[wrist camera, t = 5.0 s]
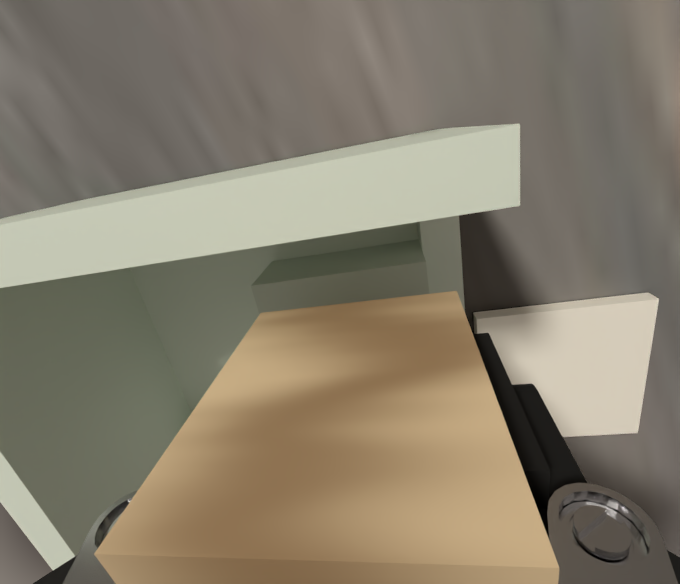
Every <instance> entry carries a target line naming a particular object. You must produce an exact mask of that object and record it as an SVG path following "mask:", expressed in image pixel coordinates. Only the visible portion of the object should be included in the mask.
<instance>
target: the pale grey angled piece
mask: <svg viewBox="0 0 680 584" xmlns="http://www.w3.org/2000/svg"><path fill="white" fill-rule="evenodd" d="M515 206H520V124H507V125H490V126H474V127H458V128H441V129H436V130H431V131H426V132H421V133H416V134H411V135H406V136H401V137H396V138H391V139H386V140H381V141H376V142H370V143H365V144H360V145H355V146H350V147H345V148H340V149H335V150H330V151H325V152H320V153H315V154H310V155H305V156H300V157H295V158H290V159H285V160H280V161H275V162H270V163H265V164H260V165H255V166H250V167H245V168H240V169H235V170H230V171H225V172H220V173H215V174H210V175H205V176H200V177H195V178H190V179H185V180H180V181H175V182H170V183H164V184H159V185H154V186H149V187H144V188H139V189H134V190H129V191H124V192H119V193H114V194H109V195H104V196H99V197H94V198H89V199H85V200H80V201H76V202H72V203H67V204H63V205H58V206H54V207H50V208H45V209H41V210H36V211H32V212H28V213H23V214H19V215H14V216H10V217H5V218H1V219H0V502H1V503H2V505H3V506H4V507H5V509H6V510H7V511H8V513H9V514H10V515H11V517H12V518H13V519H14V520H15V522H16V523H17V524H18V526H19V527H20V528H21V530H22V531H23V532H24V533H25V535H26V536H27V537H28V538H29V540H30V541H31V543H32V544H33V545H34V546H35V548H36V549H37V550H38V552H39V553H40V554H41V556H42V557H43V558H44V559H45V560H46V562H47V563H48V565H49V566H50V567H51V569H52V570H55V569H56V568H58V567H59V566H61V565H63V564H64V563H66V562H67V561H69V560H70V559H72V558H73V557H75V556H76V555H77V554H78V552H79V550H80V549H81V547H82V545H83V543H84V541H85V539H86V537H87V535H88V533H89V531H90V529H91V528H92V526H93V525H94V523H95V521H96V520H97V519H98V518H99V517H100V515H101V514H102V513H103V512H104V511H105V510H106V509H107V508H108V507H110V506H111V505H112V504H113V503H115V502H116V501H117V500H119V499H120V498H122V497H124V496H125V495H127V494H129V493H132V492H134V491H137V490H139V488H140V487H141V485H142V484H143V482H144V481H145V480H146V478H147V477H148V475H149V474H150V472H151V471H152V469H153V468H154V467H155V465H156V464H157V462H158V461H159V459H160V458H161V456H162V455H163V453H164V452H165V451H166V449H167V448H168V446H169V445H170V443H171V442H172V440H173V439H174V438H175V436H176V435H177V433H178V432H179V430H180V429H181V427H182V426H183V425H184V423H185V422H186V420H187V419H188V417H189V416H190V414H191V413H192V411H193V410H194V409H195V407H196V406H197V404H198V403H199V401H200V400H201V398H202V397H203V396H204V394H205V393H206V391H207V390H208V388H209V387H210V385H211V384H212V383H213V381H214V380H215V378H216V377H217V375H218V374H219V372H220V371H221V370H222V368H223V367H224V365H225V364H226V362H227V361H228V359H229V358H230V356H231V355H232V354H233V352H234V351H235V349H236V348H237V346H238V345H239V343H240V342H241V341H242V339H243V338H244V336H245V335H246V333H247V332H248V330H249V329H250V328H251V326H252V325H253V323H254V322H255V320H256V319H257V317H258V316H259V315H260V313H263V312H272V311H281V310H289V309H298V308H307V307H316V306H325V305H334V304H343V303H352V302H361V301H370V300H379V299H387V298H396V297H405V296H414V295H423V294H432V293H441V292H450V291H457V293H458V295H459V298H460V301H461V304H462V306H463V309H464V312H465V304H464V288H463V272H462V256H461V240H460V225H459V215H465V214H471V213H477V212H484V211H490V210H496V209H503V208H509V207H515Z"/></svg>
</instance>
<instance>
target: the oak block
mask: <svg viewBox="0 0 680 584" xmlns="http://www.w3.org/2000/svg"><path fill="white" fill-rule="evenodd" d="M94 555H95V556H96V557H97V559H98V560H99V562H100V563H101V564H102V566H103V567H104V568H105V570H106V571H107V572H108V574H109V575H110V577H111V578H112V579H113V581H114V582H115V583H116V584H558V580H559V565H558V563H557V560H556V557H555V554H554V552H553V549H552V546H551V544H550V541H549V538H548V536H547V533H546V530H545V527H544V525H543V522H542V519H541V517H540V514H539V511H538V509H537V506H536V503H535V500H534V498H533V495H532V492H531V490H530V487H529V484H528V482H527V479H526V476H525V474H524V471H523V468H522V465H521V463H520V460H519V457H518V455H517V452H516V449H515V447H514V444H513V441H512V438H511V436H510V433H509V430H508V428H507V425H506V422H505V420H504V417H503V414H502V411H501V409H500V406H499V403H498V401H497V398H496V395H495V393H494V390H493V387H492V384H491V382H490V379H489V376H488V374H487V371H486V368H485V366H484V363H483V360H482V358H481V355H480V352H479V349H478V347H477V344H476V341H475V339H474V336H473V333H472V331H471V328H470V325H469V322H468V320H467V317H466V314H465V312H464V309H463V306H462V304H461V301H460V298H459V295H458V293H457V291H450V292H441V293H432V294H423V295H414V296H405V297H396V298H387V299H379V300H370V301H361V302H352V303H343V304H334V305H325V306H316V307H307V308H298V309H289V310H281V311H272V312H263V313H260V315H259V316H258V317H257V319H256V320H255V322H254V323H253V325H252V326H251V328H250V329H249V330H248V332H247V333H246V335H245V336H244V338H243V339H242V341H241V342H240V343H239V345H238V346H237V348H236V349H235V351H234V352H233V354H232V355H231V356H230V358H229V359H228V361H227V362H226V364H225V365H224V367H223V368H222V370H221V371H220V372H219V374H218V375H217V377H216V378H215V380H214V381H213V383H212V384H211V385H210V387H209V388H208V390H207V391H206V393H205V394H204V396H203V397H202V398H201V400H200V401H199V403H198V404H197V406H196V407H195V409H194V410H193V411H192V413H191V414H190V416H189V417H188V419H187V420H186V422H185V423H184V425H183V426H182V427H181V429H180V430H179V432H178V433H177V435H176V436H175V438H174V439H173V440H172V442H171V443H170V445H169V446H168V448H167V449H166V451H165V452H164V453H163V455H162V456H161V458H160V459H159V461H158V462H157V464H156V465H155V467H154V468H153V469H152V471H151V472H150V474H149V475H148V477H147V478H146V480H145V481H144V482H143V484H142V485H141V487H140V488H139V490H138V491H137V493H136V494H135V495H134V497H133V498H132V500H131V501H130V503H129V504H128V506H127V507H126V508H125V510H124V511H123V513H122V514H121V516H120V517H119V519H118V520H117V522H116V523H115V524H114V526H113V527H112V529H111V530H110V532H109V533H108V535H107V536H106V537H105V539H104V540H103V542H102V543H101V545H100V546H99V548H98V549H97V550H96V552H95V553H94Z"/></svg>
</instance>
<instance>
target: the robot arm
mask: <svg viewBox="0 0 680 584" xmlns="http://www.w3.org/2000/svg"><path fill="white" fill-rule="evenodd" d="M473 336H474V339H475V341H476V344H477V347H478V349H479V352H480V355H481V358H482V360H483V363H484V366H485V368H486V371H487V374H488V376H489V379H490V382H491V384H492V387H493V390H494V393H495V395H496V398H497V401H498V403H499V406H500V409H501V411H502V414H503V417H504V420H505V422H506V425H507V428H508V430H509V433H510V436H511V438H512V441H513V444H514V447H515V449H516V452H517V455H518V457H519V460H520V463H521V465H522V468H523V471H524V474H525V476H526V479H527V482H528V484H529V487H530V490H531V492H532V495H533V498H534V500H535V503H536V506H537V509H538V511H539V514H540V517H541V519H542V522H543V525H544V527H545V530H546V533H547V536H548V538H549V541H550V544H551V546H552V549H553V552H554V554H555V557H556V560H557V563H558V565H559V580H558V584H680V558H679V557H678V556H676V555H674V554H673V553H671V552H669V551H668V550H667V549H666V546H665V543H664V540H663V538H662V536H661V534H660V532H659V530H658V528H657V526H656V524H655V523H654V521H653V520H652V519H651V518H650V517H649V516H648V515H647V514H646V512H645V511H644V510H643V509H642V508H641V507H639V506H638V505H637V504H635V503H634V502H633V501H631V500H630V499H629V498H627V497H626V496H624V495H622V494H620V493H618V492H616V491H614V490H612V489H610V488H606V487H603V486H599V485H596V484H590V483H587V482H586V480H585V478H584V476H583V474H582V473H581V471H580V469H579V467H578V465H577V463H576V461H575V460H574V458H573V456H572V454H571V452H570V450H569V448H568V446H567V445H566V443H565V441H564V439H563V437H562V435H561V433H560V431H559V430H558V428H557V426H556V424H555V422H554V420H553V418H552V416H551V415H550V413H549V411H548V409H547V407H546V405H545V403H544V401H543V400H542V398H541V396H540V394H539V392H538V390H537V389H536V387H535V386H534V385H533V384H516V385H512V384H511V381H510V379H509V377H508V375H507V373H506V370H505V368H504V366H503V364H502V361H501V359H500V357H499V355H498V352H497V350H496V348H495V346H494V344H493V341H492V339H491V337H490V335H489V333H479V334H473ZM137 491H138V490H137ZM137 491H134V492H132V493H129V494H127V495H125V496H124V497H122V498H120V499H119V500H117V501H116V502H115V503H113V504H112V505H111V506H110V507H108V508H107V509H106V510H105V511H104V512H103V513H102V514H101V515H100V517H99V518H98V519H97V520H96V521H95V523H94V525H93V526H92V528H91V529H90V531H89V533H88V535H87V537H86V539H85V541H84V543H83V545H82V547H81V549H80V550H79V552H78V554H77V555H76V556H75V557H73V558H72V559H70V560H69V561H67V562H66V563H64V564H63V565H61V566H59V567H58V568H56V569H55V570H53V571H52V572H50V573H49V574H47V575H46V576H44V577H42V578H41V579H39V580H38V581H37V582H35V583H33V584H116V583H115V582H114V581H113V579H112V578H111V577H110V575H109V574H108V572H107V571H106V570H105V568H104V567H103V566H102V564H101V563H100V562H99V560H98V559H97V557H96V556H95V555H94V553H95V552H96V550H97V549H98V548H99V546H100V545H101V543H102V542H103V540H104V539H105V537H106V536H107V535H108V533H109V532H110V530H111V529H112V527H113V526H114V524H115V523H116V522H117V520H118V519H119V517H120V516H121V514H122V513H123V511H124V510H125V508H126V507H127V506H128V504H129V503H130V501H131V500H132V498H133V497H134V495H135V494H136V493H137Z"/></svg>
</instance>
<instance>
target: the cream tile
mask: <svg viewBox="0 0 680 584" xmlns="http://www.w3.org/2000/svg"><path fill="white" fill-rule="evenodd" d="M658 302H659V299H658V298H657V297H655V296H653V295H652V294H650V293H639V294H631V295H622V296H613V297H604V298H596V299H587V300H578V301H569V302H561V303H552V304H543V305H534V306H526V307H517V308H508V309H499V310H491V311H482V312H473V318H474V334H479V333H489V335H490V337H491V339H492V341H493V344H494V346H495V348H496V350H497V352H498V355H499V357H500V359H501V361H502V364H503V366H504V368H505V370H506V373H507V375H508V377H509V379H510V381H511V384H512V385H516V384H533V385H534V386H535V387H536V389H537V390H538V392H539V394H540V396H541V398H542V400H543V401H544V403H545V405H546V407H547V409H548V411H549V413H550V415H551V416H552V418H553V420H554V422H555V424H556V426H557V428H558V430H559V431H560V433H561V435H562V437H573V436H591V435H609V434H627V433H638V428H639V422H640V415H641V409H642V403H643V396H644V390H645V384H646V377H647V371H648V365H649V359H650V352H651V346H652V340H653V333H654V327H655V321H656V314H657V308H658Z"/></svg>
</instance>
